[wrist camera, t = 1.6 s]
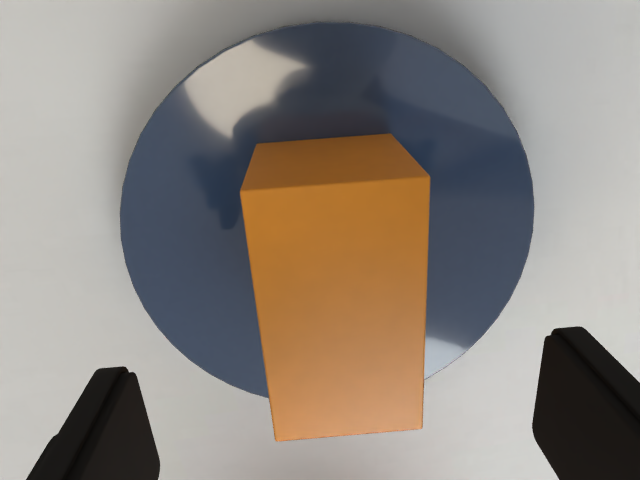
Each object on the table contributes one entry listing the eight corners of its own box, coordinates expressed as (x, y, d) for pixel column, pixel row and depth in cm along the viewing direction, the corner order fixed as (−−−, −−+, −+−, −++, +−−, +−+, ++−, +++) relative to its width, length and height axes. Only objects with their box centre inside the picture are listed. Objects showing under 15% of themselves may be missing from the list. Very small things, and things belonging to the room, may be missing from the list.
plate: (85, 38, 15) (65, 39, 14) (540, 6, 16) (563, 3, 14) (174, 394, 22) (166, 419, 20) (499, 367, 22) (512, 389, 20)
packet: (256, 143, 16) (239, 190, 11) (391, 132, 16) (431, 175, 11) (280, 342, 19) (275, 442, 14) (392, 333, 19) (422, 429, 14)
